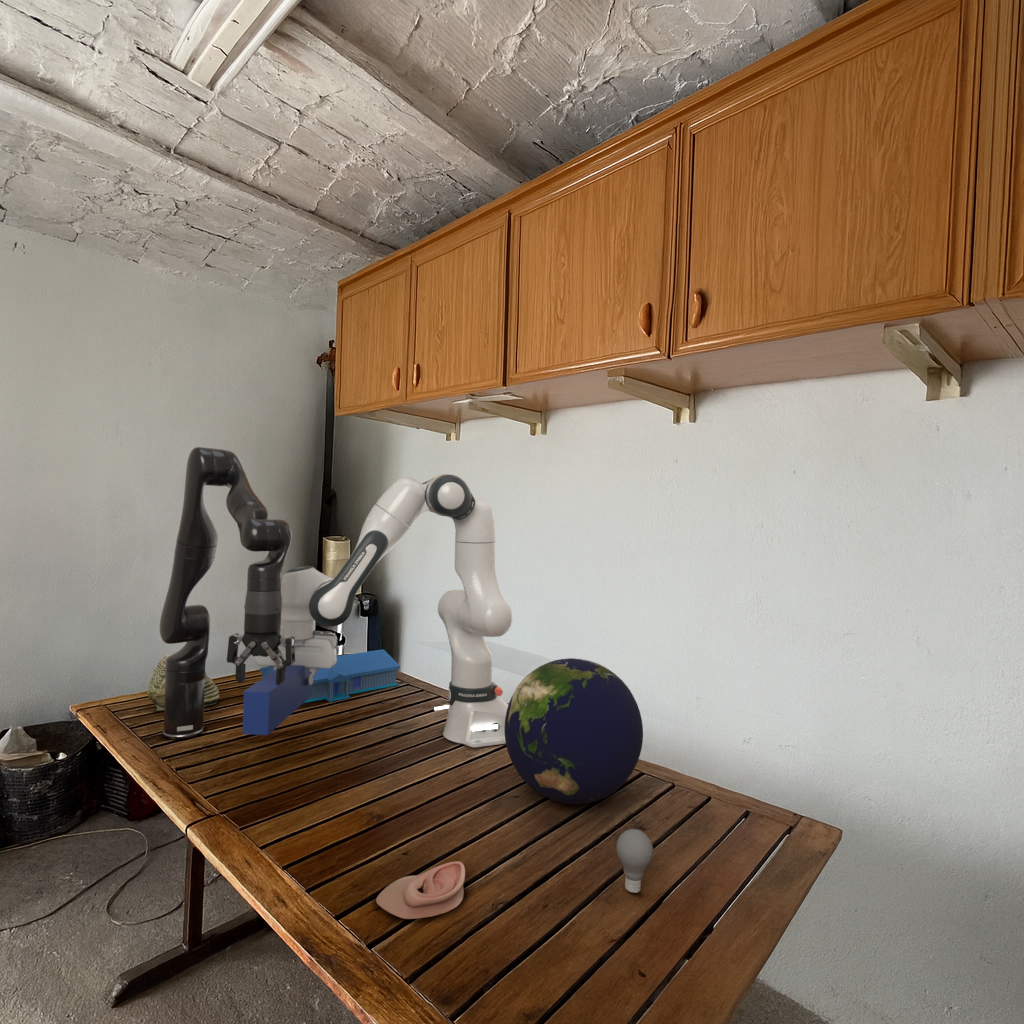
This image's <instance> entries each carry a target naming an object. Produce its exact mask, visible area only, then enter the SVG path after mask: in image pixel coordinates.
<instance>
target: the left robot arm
mask: <svg viewBox="0 0 1024 1024" xmlns="http://www.w3.org/2000/svg"><path fill="white" fill-rule="evenodd" d="M241 463H242V462H240V460H239V457H238V456H237V455H236V454H235V453H234V452H233V451H232V450H227V449H223V448H221V449H220V448H211V447H203V446H197V447H196V446H195V447H193V448H192V450H191V451H190V452H189V455H188V458H187V461H186V469H185V481H184V492H183V503H182V510H181V516H180V521H179V527H178V532H177V537H176V542H175V547H174V553H173V554H174V555H173V563H172V567H171V575H170V580H169V584H168V589H167V592H166V595H165V599H164V603H163V607H162V611H161V615H160V618H159V636H160V638H161V640H162V641H163V642H164V644H169V645H174V644H183V643H185V644H184V645H183V646H182V648H180V649H179V650H177V651H176V652H174V653H172V654H169V655H170V656H169V657H168V658H167V660H166V674H165V705H164V710H163V730H162V737H164V738H166V739H169V740H185V739H190V738H191V739H192V738H194V737H197V736H199V735H202V734H203V732H204V730H205V729H204V727H205V725H204V722H205V721H204V718H205V706H204V693H205V672H206V664H207V663H206V662H207V658H208V655H209V644H210V633H211V616H210V613H209V610H208V608H207V607H206V606H205V605H203V604H192V605H191V604H190V605H187V602H188V599H189V597H190V595H191V593H192V591H193V590H194V588H195V587H196V586H197V584H199V582H200V581H201V580H202V579H203V577H204V576H205V575H206V574H207V573H208V572H209V570H210V569H211V567H212V565H213V564H214V561H215V559H216V552H217V546H218V540H219V536H218V532H217V530H216V527H215V524H214V523H213V521H212V519H211V517H210V516H209V513H208V511H207V510H206V507H205V502H204V490H205V486H210V487H211V486H212V487H226V488H228V489H229V491H228V493H227V495H226V499H225V505H226V508H227V509H226V510H227V511H228V512H229V513H228V514H230V516H231V517H232V518H233V521H234V522H235V523H236V525H237V529H238V533H239V540H240V544H241V546H242V547H243V548H244V549H245V550H247V551H249V552H253V553H255V552H256V553H257V552H260V553H261V552H268V553H267V554H266V557H265V558H263V559H262V560H259V561H255V562H252V563H251V564H249V566H248V568H247V576H246V577H247V578H246V594H245V600H244V621H243V623H244V624H243V627H244V628H243V632H244V633H243V635H241V634H239V633H238V632H237V633H233V634H231V635H229V636H228V642H227V643H228V644H227V654H226V662H227V663H229V664H230V663H231V664H233V665H234V666H235V676H234V678H235V680H236V681H237V683H238V684H242V683H244V682H245V681H246V668H247V667H246V663H245V662H246V661H247V660H248V659H249V657H250V656H252V657H255V656H262V657H267V656H269V657H270V658H271V660H273V661H274V662H275V663H276V665H277V666H278V668H277V675H276V685H280V684H282V683H283V681H285V679H286V666H290V665H291V664H293V663H294V662H295V638H294V637H293V636H291V637H289V638H282V637H281V635H280V630H281V608H282V596H281V581H282V577H283V574H282V573H283V569H284V566H285V562H286V558H287V556H288V552H289V549H290V546H291V544H292V538H293V536H292V535H293V532H292V528H291V526H290V524H289V523H288V522H287V521H286V520H285V519H274V518H273V519H269V515H270V514H269V511H268V509H267V508H266V506H265V504H263V502H262V501H261V499H259V497H258V496H257V495H256V493H255V491H254V490H253V489H252V486H251V484H250V481H249V479H248V477H247V475H246V472H245V470H244V468H243V466H242V464H241ZM241 643H242V644H243V645H244V647H245V649H244V650H243V651H242V652H241V653H240V654H239V653H238V652H239V645H240V644H241ZM281 643H282V644H283V647H284V648H286V660H285V658H284V657H283V655H282V652H281V651H280V649H279V648H278V646H279V645H280V644H281ZM238 654H239V656H238Z"/></svg>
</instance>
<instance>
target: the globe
mask: <svg viewBox="0 0 1024 1024" xmlns="http://www.w3.org/2000/svg"><path fill="white" fill-rule="evenodd" d="M510 697H511V698H510V700H509V702H508V703H509V705H508V708H507V712H506V717H505V727H504V731H505V742H506V744H505V747H506V750H507V754H508V756H509V759H510V761H511V763H512V765H513V768H514V769H515V770H516V772H517V774H518V775H519V777H520V778H521V779H522V780H523V782H525V783H526V785H527V786H528V787H529V788H531V789H532V790H533V791H535V792H536V793H537V794H539V795H541V796H542V797H545V798H547V799H549V800H551V801H554V802H555V803H556V802H557V803H560V804H563V805H564V804H566V805H587V804H591V803H595V802H598V801H601V800H603V799H605V798H606V797H609V796H611V795H613V793H615V792H617V791H618V790H619V789H620V788H621V787H622V786H623V785H625V783H626V782H627V780H628V779H629V778H630V777H631V775H632V774H633V772H634V770H635V768H636V767H637V764H638V763H639V759H640V757H641V753H642V749H643V741H644V726H643V719H642V714H641V710H640V708H639V705H638V702H637V701H636V699H635V697H634V694H633V693H632V691H631V689H630V688H629V686H628V685H627V684H626V683H625V682H624V681H623V680H622V678H620V677H619V675H617V674H616V673H614V672H613V671H612V670H611V669H609V668H607V667H606V666H604V665H602V664H600V663H598V662H595V661H591V660H589V659H583V658H577V657H572V658H571V657H570V658H569V657H567V658H561V659H555V660H552V661H549V662H546V663H544V664H542V665H540V666H538V667H536V668H535V669H533V670H532V671H531V672H530V673H528V674H527V675H526V676H525V677H524V678H523V679H522V680H521V681H520V682H519V683H518V685H517V686H516V687H515V690H514V691H513V694H512V696H510Z"/></svg>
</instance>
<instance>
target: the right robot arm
mask: <svg viewBox="0 0 1024 1024" xmlns="http://www.w3.org/2000/svg"><path fill="white" fill-rule="evenodd" d="M426 512H430V513H433V514H436V515H437V516H440V517H447V518H450V519H451V520H452V522H453V523H454V529H455V536H454V541H455V542H454V570H455V573H456V574H457V576H458V577H459V579H460V581H461V582H462V583H461V584H462V585H463V588H457V589H456V588H455V589H450V590H447V591H446V592H444V593H443V594H442V595H441V596H440V598H439V600H438V603H437V613H438V616H439V618H440V619H441V621H442V623H443V625H444V627H445V629H446V633H447V637H448V641H449V646H450V647H449V648H450V654H451V666H450V667H451V668H450V669H451V671H450V673H451V674H450V675H451V676H450V681H449V684H448V694H447V695H448V697H447V700H448V704H447V705H442V706H434V709H433V710H434V711H440V710H446V709H448V710H447V715H446V721H445V724H444V728H443V731H442V736H443V737H444V738H445V739H446V740H448V741H450V742H453V743H456V744H462V745H465V746H467V747H470V748H482V747H489V746H496V745H497V746H498V745H506V742H505V731H504V727H505V717H506V712H507V708H508V705H509V702H505V701H504V700H503V699H502V698H501V696H502V695H503V694H504V690H503V689H502V687H500V686H499V685H498V684H497V683H495V682H494V681H492V680H493V678H492V677H493V654H492V651H491V650H490V648H489V647H488V645H487V643H486V640H485V638H498V637H502V636H504V635H506V634H507V632H508V631H509V630H510V629H511V627H512V624H513V620H514V612H513V609H512V606H511V605H510V604H509V602H508V601H507V600H506V598H505V596H504V593H503V592H502V588H501V586H500V582H499V578H498V574H497V560H496V559H497V555H496V553H497V549H496V548H497V546H496V545H497V532H496V530H497V529H496V521H495V514H494V510H493V507H492V506H491V504H489V503H488V502H485V501H483V500H479V499H475V497H474V495H473V494H472V492H471V489H470V488H469V486H468V484H467V483H466V481H464V480H463V479H462V478H461V477H459V476H457V475H456V474H455V475H454V474H447V473H445V474H439V475H436V476H435V477H433V478H431V479H428V480H426V481H424V482H422V483H421V482H419V481H418V480H416V479H414V478H412V477H407V476H403V477H399V478H398V479H396V480H395V481H394V482H393V483H392V484H391V485H390V486H389V487H388V488H387V489H386V490H385V491H384V492H383V494H382V495H381V496H380V497H379V498H378V499H377V501H376V502H375V504H374V505H373V506H372V508H371V509H370V510H369V513H368V515H367V516H366V518H365V520H364V522H363V525H362V527H361V531H360V534H359V538H358V540H357V543H356V546H355V548H354V550H353V552H352V553H351V555H350V556H349V557H348V559H347V560H346V562H345V563H344V565H343V566H342V567H341V569H340V570H339V572H338V573H337V574H336V576H335V577H331V576H330V575H327V574H325V573H322V572H320V570H318V569H316V568H315V566H311V565H302V566H296V567H293V568H290V569H288V570H286V571H285V572H284V573H283V574H282V579H281V596H282V608H281V630H280V635H281V637H282V638H289V637H291V636H293V637H294V638H295V662H294V663H293V664H291V665H297V666H305V668H310V672H312V673H311V675H310V676H308V677H307V678H306V679H305V681H306V682H305V684H306V685H312V684H313V677H314V675H315V674H316V672H317V671H318V668H325V669H330V668H332V667H333V666H334V665H335V664H336V662H337V656H338V655H337V646H338V637H337V634H335V633H333V632H332V631H330V630H326V631H323V630H316V623H317V624H319V625H321V626H323V627H326V628H327V627H328V628H329V627H337V626H339V625H342V624H344V623H345V622H346V621H347V620H348V619H349V617H350V616H351V614H352V611H353V608H354V607H353V605H354V600H355V597H356V594H357V593H358V592H359V589H360V588H361V586H363V584H364V582H365V581H366V579H367V578H368V576H369V575H370V573H371V572H372V571H373V570H374V568H375V566H376V565H377V564H378V563H379V561H381V559H383V558H384V557H385V556H386V555H387V554H388V553H389V552H390V551H391V550H392V549H394V548H395V546H397V545H398V543H400V542H401V540H402V539H403V538H404V537H405V536H406V535H407V533H408V532H409V530H410V529H411V528H412V526H413V525H414V523H415V522H416V521H417V520H418V518H419V517H420V516H421V515H422V514H424V513H426ZM278 648H279V649H280V651H281V652H282V655H283V657H284V658H285V660H286V648H284V647H283V644H282V643H281V644H280V645H279V646H278ZM254 663H255V664H256V665H257V666H259V667H260V666H262V667H268V666H274V670H276V669H277V668H278V666H277V665H276V663H275V662H274V661H273V660H271V658H270V657H269V656H267V657H262V656H254Z"/></svg>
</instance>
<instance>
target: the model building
mask: <svg viewBox="0 0 1024 1024" xmlns="http://www.w3.org/2000/svg"><path fill="white" fill-rule="evenodd" d="M400 669H401V665H400V664H399V663H398V662H397V661H396V660H395V659H394V658H393V657H392V656H391V654H389V653H388V652H387V651H386V650H385V649H376V650H368V651H363V652H356V653H349V654H342V655H341V654H340V655H337V662H336V664H335V665H334V666H333V667H332V668H330V669H325V668H318V671H317V672H316V674H315V675H314V677H313V684H312V696H311V697H310V698H309V699H307V700H306V701H305V702H304V703H303V704H307V703H312V702H317V701H323V700H325V701H327V702H329V703H330V702H335V701H341V700H346V699H347V700H348V699H350V698H351V695H353V694H359V693H364V692H365V693H366V692H369V691H373V690H381V689H385V688H390V687H391V688H392V687H395V686H399V683H398V682H397V670H400ZM273 671H274V666H262V667H260V668H259V672H260V673H261V679H263V678H264V677H266V676H267V675H268V674H270V673H271V672H273Z"/></svg>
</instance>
